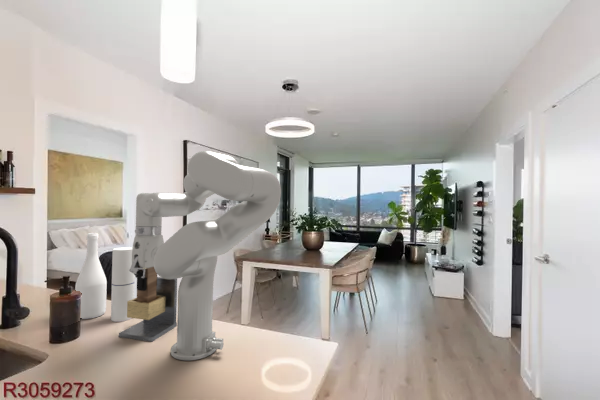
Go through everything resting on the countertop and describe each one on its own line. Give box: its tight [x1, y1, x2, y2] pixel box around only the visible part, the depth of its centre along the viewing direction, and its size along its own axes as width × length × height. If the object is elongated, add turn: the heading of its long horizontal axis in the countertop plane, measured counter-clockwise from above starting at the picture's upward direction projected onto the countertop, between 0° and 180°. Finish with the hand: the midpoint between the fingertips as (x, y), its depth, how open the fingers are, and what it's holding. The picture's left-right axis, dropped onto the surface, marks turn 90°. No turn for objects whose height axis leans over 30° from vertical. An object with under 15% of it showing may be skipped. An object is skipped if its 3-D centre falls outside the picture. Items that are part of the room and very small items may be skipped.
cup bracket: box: [118, 276, 178, 343], centre depth 98 cm, size 12×12×16 cm
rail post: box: [136, 267, 158, 303], centre depth 97 cm, size 4×4×14 cm
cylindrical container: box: [110, 246, 136, 323], centre depth 109 cm, size 7×7×25 cm
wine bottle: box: [74, 232, 108, 320], centre depth 111 cm, size 10×10×30 cm
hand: (147, 287), depth 97 cm, fingers closed on rail post, 4 cm apart
